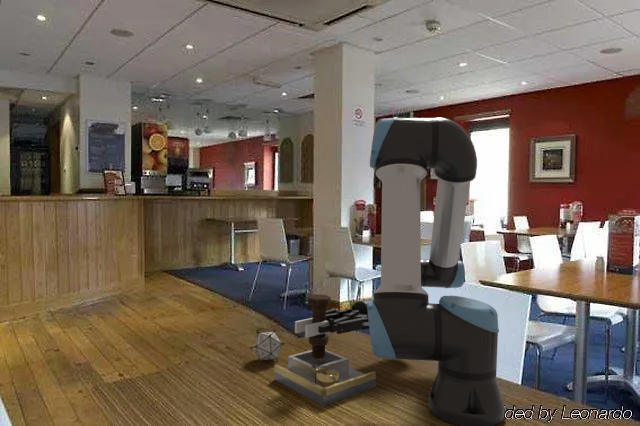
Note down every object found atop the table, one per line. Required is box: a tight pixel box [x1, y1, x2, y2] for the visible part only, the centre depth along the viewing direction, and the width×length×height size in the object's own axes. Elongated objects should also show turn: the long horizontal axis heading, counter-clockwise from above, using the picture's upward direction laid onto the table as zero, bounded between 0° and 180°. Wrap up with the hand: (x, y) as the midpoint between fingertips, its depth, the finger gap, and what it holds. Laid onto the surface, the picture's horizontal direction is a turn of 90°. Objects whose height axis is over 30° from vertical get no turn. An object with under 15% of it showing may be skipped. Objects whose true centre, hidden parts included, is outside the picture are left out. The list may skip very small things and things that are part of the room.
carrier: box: [273, 349, 377, 407], centre depth 114 cm, size 18×16×5 cm
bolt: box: [307, 294, 332, 359], centre depth 117 cm, size 6×5×15 cm
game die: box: [249, 328, 286, 364], centre depth 129 cm, size 9×8×10 cm
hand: (301, 329), depth 114 cm, fingers closed on bolt, 3 cm apart
